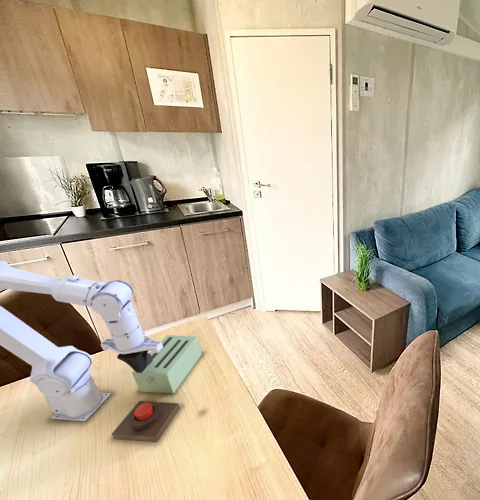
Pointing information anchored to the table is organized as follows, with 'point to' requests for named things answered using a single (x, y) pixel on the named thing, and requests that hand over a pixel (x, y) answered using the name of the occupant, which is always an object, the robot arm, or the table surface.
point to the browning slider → (149, 358)
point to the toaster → (169, 364)
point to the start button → (143, 411)
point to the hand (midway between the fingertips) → (141, 369)
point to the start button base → (147, 422)
